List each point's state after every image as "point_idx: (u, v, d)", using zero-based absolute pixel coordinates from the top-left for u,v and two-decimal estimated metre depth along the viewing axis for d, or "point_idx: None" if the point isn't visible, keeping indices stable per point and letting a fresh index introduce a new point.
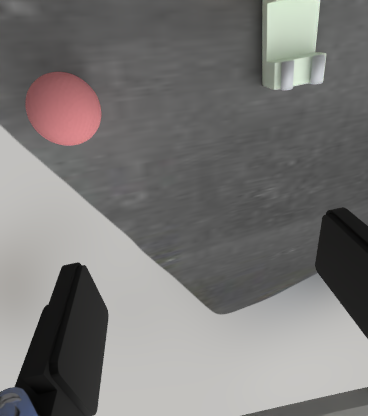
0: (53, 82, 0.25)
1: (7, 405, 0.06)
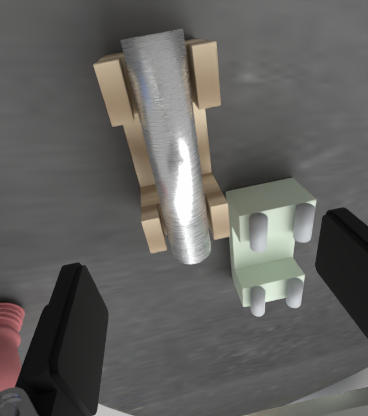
0: None
1: (7, 405, 0.06)
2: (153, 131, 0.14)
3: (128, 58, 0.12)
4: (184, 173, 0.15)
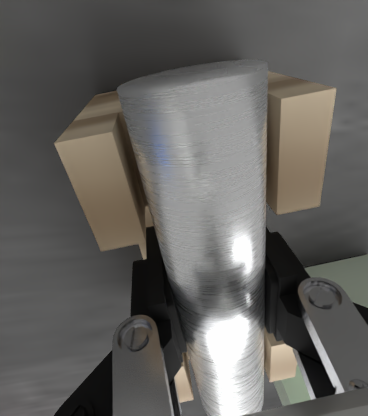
0: None
1: (142, 328, 0.07)
2: (187, 269, 0.07)
3: (136, 132, 0.05)
4: (241, 330, 0.08)
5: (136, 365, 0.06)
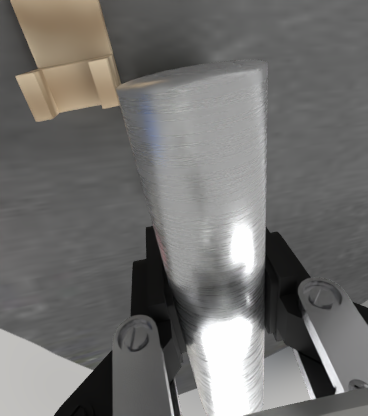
0: None
1: (142, 329, 0.07)
2: (186, 270, 0.07)
3: (135, 133, 0.05)
4: (241, 331, 0.08)
5: (136, 365, 0.06)
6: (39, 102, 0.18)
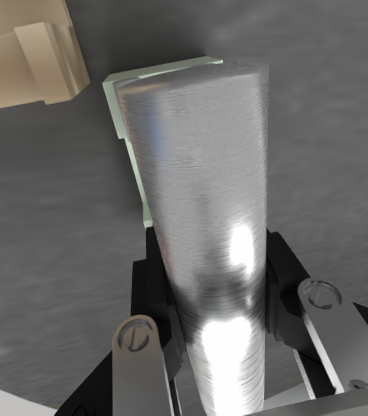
0: None
1: (142, 329, 0.07)
2: (187, 271, 0.07)
3: (136, 135, 0.05)
4: (242, 332, 0.08)
5: (136, 365, 0.06)
6: None
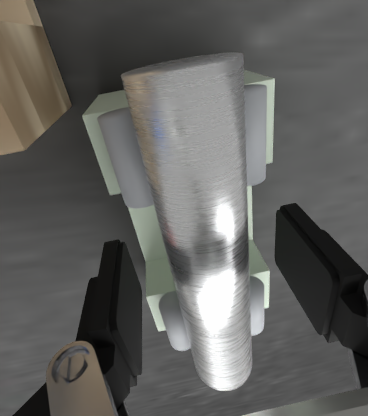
0: None
1: (78, 355, 0.07)
2: (183, 231, 0.08)
3: (138, 111, 0.06)
4: (230, 287, 0.09)
5: (76, 394, 0.06)
6: None
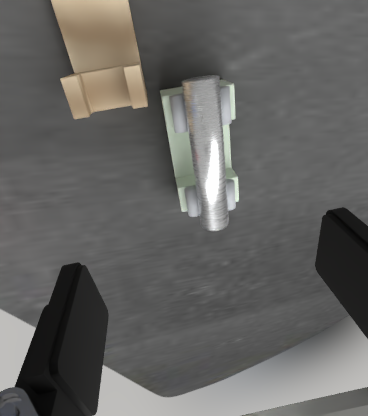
0: None
1: (7, 405, 0.06)
2: (199, 136, 0.22)
3: (187, 92, 0.21)
4: (216, 163, 0.24)
5: None
6: (78, 102, 0.21)
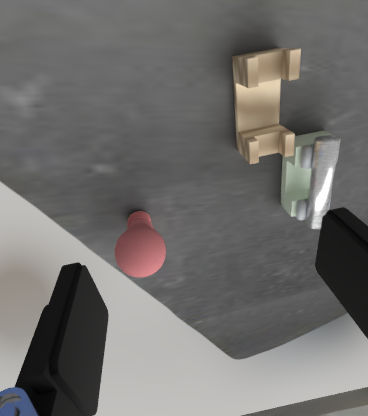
0: (139, 244, 0.35)
1: (7, 405, 0.06)
2: (322, 172, 0.37)
3: (321, 148, 0.35)
4: (329, 188, 0.38)
5: None
6: (255, 154, 0.35)
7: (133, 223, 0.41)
